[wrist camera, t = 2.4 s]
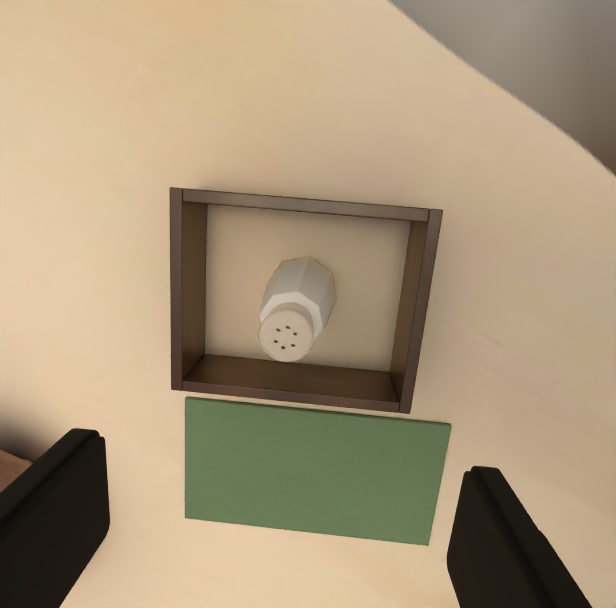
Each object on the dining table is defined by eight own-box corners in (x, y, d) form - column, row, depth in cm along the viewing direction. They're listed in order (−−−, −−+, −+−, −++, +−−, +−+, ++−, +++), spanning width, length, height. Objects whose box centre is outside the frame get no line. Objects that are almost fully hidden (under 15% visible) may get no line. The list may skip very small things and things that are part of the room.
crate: (424, 208, 28) (443, 209, 23) (398, 382, 31) (410, 414, 27) (196, 190, 29) (169, 187, 24) (195, 362, 32) (170, 390, 27)
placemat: (450, 423, 32) (451, 426, 32) (427, 542, 35) (428, 546, 35) (186, 396, 33) (184, 398, 33) (186, 514, 36) (184, 518, 36)
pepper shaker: (274, 248, 29) (241, 273, 19) (344, 264, 29) (352, 298, 19) (261, 315, 31) (223, 374, 20) (328, 331, 31) (326, 398, 20)
